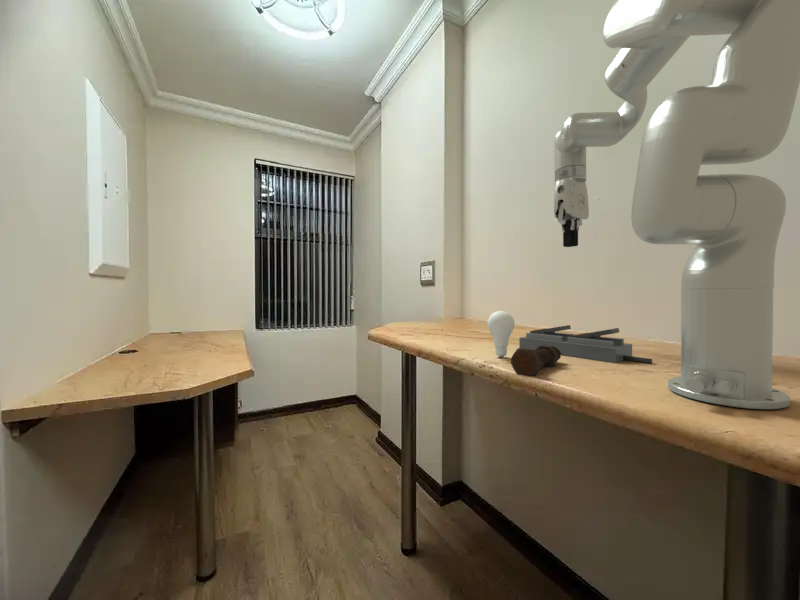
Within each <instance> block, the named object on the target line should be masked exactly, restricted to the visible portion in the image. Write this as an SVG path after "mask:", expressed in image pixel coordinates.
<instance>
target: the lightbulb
mask: <svg viewBox="0 0 800 600" xmlns="http://www.w3.org/2000/svg"><path fill="white" fill-rule="evenodd" d="M515 323H516V322H515V319H514V317H513V315H511V313H509V312H507V311H505V310H498V311H497V310H496V311H494V312H493V313H491V314H490V315H489V317H488V319H487V328H488V331H489V333H490V334H491V336H492V339H493V345H494V348H495V349H494V350H495V355H496V356H498V357H499V358H504V357H505V356H507V354H508V346H509V340H510V337H511V334H512V333H513V331H514V329H515V326H516V325H515Z"/></svg>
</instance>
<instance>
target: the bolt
mask: <svg viewBox="0 0 800 600" xmlns="http://www.w3.org/2000/svg"><path fill="white" fill-rule="evenodd" d="M561 357H562V355H561V352H560V351H559V350H558V349H557V348H556V347H554V346H550V345H539V346H538V347H537V349H536V350H535V349H527V348H520V347H518V348H517V349H516V350H515V351H514V353H513V354H512V356H511V358H510V360H509V361H510V364H511V367H512V368H513V371H514V372H515V373H516V374H517V375H520V376H525V377H535V376H536V375H537V374H538V373H539V371H540V370H541V368H542V367H548V368H551V367H552V368H553V367H554V366H555V365H556V364H557V363H558V361H559V360H560V359H561Z"/></svg>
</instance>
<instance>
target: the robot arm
mask: <svg viewBox="0 0 800 600" xmlns="http://www.w3.org/2000/svg"><path fill="white" fill-rule="evenodd" d="M602 31H603V32H602V38H603V42H604V44H605V45H606V46H607V47H608V48H610V49H619V50H618V51H617V53H616V55H615V56H614V58H613V59H612V60H611V62H610V63H609V65H608V66H607V69H606V71H605V73H604V80H605V84H606V87H607V88H608V90H610V91H611V93H612V94H614V95H615V96H617V97H618V98H620V99H622V100H623V101H624V102H623V103H622V104H621V105H620V107H619V108H618V109H617V110H616V111H610V112H609V111H601V112H600V111H596V112H595V111H594V112H576V113H573V114H571V115H569V116H568V117H567V118H566V120H565V121H564V122H563V125H562V127H561V129H560V130H559V131H558V132H556V134H555V137H554V141H553V142H554V145H553V147H554V149H553V150H554V186H555V187H554V195H553V196H554V197H553V215H554V218H556V219H557V222H558V223H559V224H560V225H561V231H562V232H563V233H562V239H563V240H562V246H563V247H564V248H574V247H578V246H579V230H580V227H581V226H583V220H587V219H589V217H590V216H589V215H590V212H589V196H588V188H587V187H588V186H587V183H586V181H587V148H599V147H600V148H601V147H602V148H603V147H604V148H605V147H611V146H614V145H616V144H618V143H620V142H621V141H622V140H623V139H625V137H627V136H628V135H629V133H630V132H632V130H634V128H635V127H636V126H637V125H638V123H639V122H640V121H641V118H642V116H643V114H644V112H645V109H646V106H647V103H648V88H647V87H648V86H649V85H650V83H651V82H652V81H653V80H654V79H655V78H656V77H657V75H659V73H660V71H662V70H663V68H664V67H665V66H666V64H667V63H668V62H669V61H670V60H671V59H672V58H673V57H674V55H675V54H676V53H677V52H678V51H679V49H680V48H681V47H682V46H683V45H684V44H685V43H686V41H687V40H688V39H689V38H690V37H692V36H697V37H698V36H700V37H701V36H716V35H717V36H719V35H720V36H722V35H729V36H728V38H727V40H726V41H725V42H724V44H723V45H722V47H721V48H720V50H719V52H718V54H717V56H716V58H715V60H714V64H713V68H712V73H711V78H710V79H711V80H710V84H709V85H695V86H690V87H685V88H682V89H680V90H678V91H676V92H674V93H672V94H670V95H668V97H666V98H664V100H663V101H662V102H661V103H660V104H659V105H658V106H657V107H656V109H655V110H654V111H653V113H652V114H651V116H650V118H649V121H648V122H647V124H646V126H645V128H644V130H643V131H644V132H643V135H642V139H641V142H640V143H641V144H640V150H639V157H638V163H637V171H636V178H635V184H634V190H633V196H632V203H631V204H632V205H631V214H630V215H631V217H630V219H631V225H632V230H633V232H634V233H635V235H636V236H637V238H639V239H640V240H642V241H643V242H645V243H648V244H651V245H652V244H653V245H695V248H694V249H693V251H692V252H691V254H690V256H689V257H688V259H687V261H686V263H685V265H684V267H683V270H682V273H681V288H680V289H681V290H680V376H675V377H671V378H670V379H668V381H667V386H668V387H667V388H668V389H669V390H670V391H672V392H674V393H675V394H678V395H679V396H683V397H686V398H689V399H691V400H696V401H700V402H704V403H708V404H714V405H720V406H727V407H731V408H733V407H734V408H741V409H748V410H749V409H751V410H778V409H780V410H781V409H784V408H787V407H789V406H790V404H791V403H790V396H789V395H788V394H786V393H785V392H783V391H781V390H778V389H775V388H773V343H774V342H773V341H774V340H773V338H774V337H773V336H774V335H773V334H774V333H773V331H774V327H773V325H774V324H773V323H774V286H775V260H776V253H777V252H776V251H777V245H778V240H779V236H780V234H781V233H780V232H781V229H782V226H783V223H784V219H785V216H786V209H787V199H786V195H785V193H784V191H783V189H782V188H781V187H780V185H778V183H776V182H774V181H773V180H772V179H769V178H767V177H764V176H761V175H760V176H759V175H755V174H741V173H740V174H737V173H734V174H733V173H730V174H728V173H726V174H723V173H722V174H721V173H720V174H707V175H705V174H704V175H703V174H702V175H701V174H700V175H699V173H700V170H701V165H702V166H703V165H704V166H707V165H710V166H711V165H714V166H715V165H736V164H738V165H739V164H745V163H751V162H754V161H758V160H761V159H763V158H765V157H767V156H768V155H770V154H772V153H773V152H774V151H775V150H776V149H777V148H778V147H779V146H780V145H781V143H782V142H783V141H784V139H785V136H786V134H787V132H788V129H789V127H790V122H791V119H792V115H793V112H794V108H795V103H796V99H797V96H798V91H799V87H800V0H615V1H614V3H613V4H612V6H611V7H610V9H609V12H608V13H607V15H606V19H605V21H604V26H603V30H602Z"/></svg>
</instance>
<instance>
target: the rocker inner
mask: <svg viewBox="0 0 800 600" xmlns="http://www.w3.org/2000/svg"><path fill="white" fill-rule="evenodd" d="M617 333H620V329H619V327H617V328H616V327H615V328H610V329H604V330H599V331H598V330H597V331H591V332H581V333H577V334H575V335H574V336H571V337H574V338H596V337H603V336H607V335H613V334H617Z"/></svg>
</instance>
